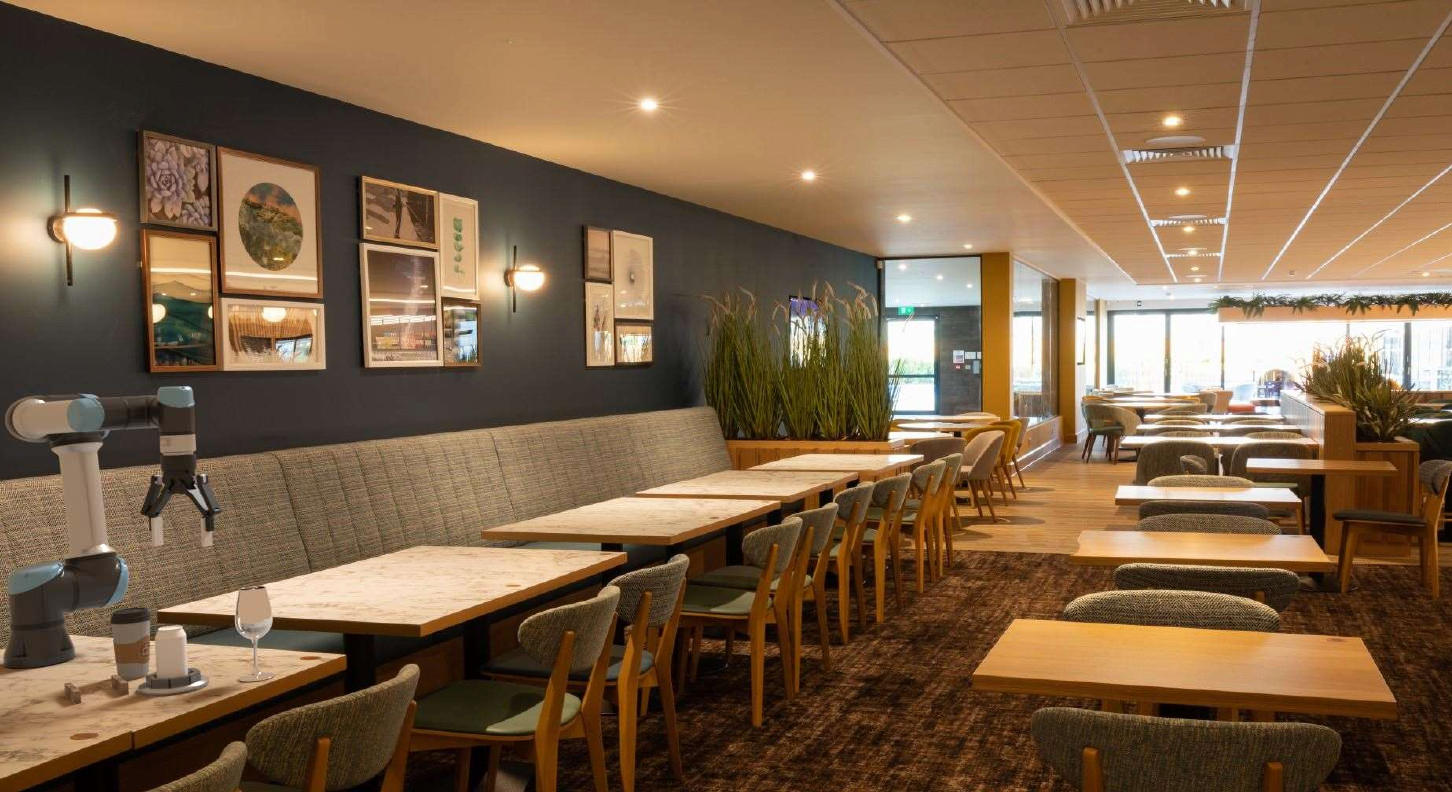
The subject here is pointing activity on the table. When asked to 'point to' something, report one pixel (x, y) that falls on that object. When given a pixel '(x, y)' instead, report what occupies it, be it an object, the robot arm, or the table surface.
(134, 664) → the coffee cup
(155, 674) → the hub collar
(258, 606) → the wineglass
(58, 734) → the table surface
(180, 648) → the beverage can
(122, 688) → the walnut cradle
